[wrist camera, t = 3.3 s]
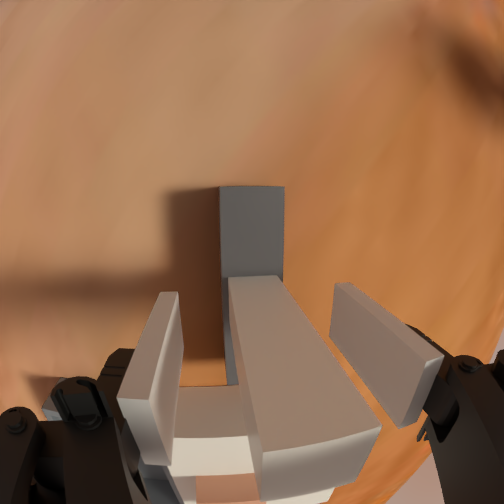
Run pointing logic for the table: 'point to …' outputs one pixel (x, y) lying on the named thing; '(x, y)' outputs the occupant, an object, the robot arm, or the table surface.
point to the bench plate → (215, 441)
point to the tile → (227, 489)
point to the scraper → (283, 360)
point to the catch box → (155, 476)
